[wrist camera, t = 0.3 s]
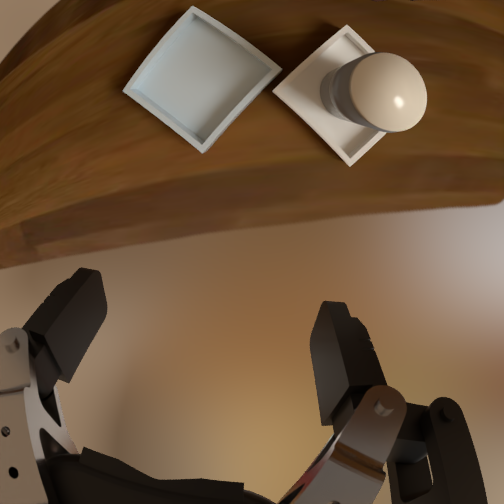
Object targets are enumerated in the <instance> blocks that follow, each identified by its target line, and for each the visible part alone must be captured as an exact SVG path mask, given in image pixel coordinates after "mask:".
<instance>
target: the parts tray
mask: <svg viewBox="0 0 504 504" xmlns="http://www.w3.org/2000/svg"><path fill="white" fill-rule="evenodd" d="M373 52H375V51H374V50H373V49H372V48H371V47H370V46H369V45H368V44H367V43H366V42H365V41H364V40H363V39H362V38H361V37H360V36H359V35H358V34H357V33H355V32H354V31H353V30H352V29H351V28H350V27H349V26H348V25H346V26H344V27H343V28H342V29H341V30H339V31H338V32H337V33H336V34H335V35H333V36H332V37H331V38H330V39H329V40H327V41H326V42H325V43H324V44H323V45H322V46H320V47H319V48H318V49H317V50H316V51H315V52H313V53H312V54H311V55H310V56H309V57H308V58H307V59H306V60H304V61H303V62H302V63H301V64H300V65H299V66H298V67H297V68H296V69H295V70H294V71H293V72H291V73H290V74H289V75H288V76H287V77H286V78H285V79H284V80H283V81H282V82H281V83H280V84H279V85H278V86H277V87H276V88H275V89H274V90H273V91H272V92H273V93H274V94H275V95H276V96H277V97H279V98H280V99H281V100H282V101H283V102H284V103H285V104H287V105H288V106H289V107H290V108H291V109H292V110H293V111H294V112H295V113H296V114H297V115H299V116H300V117H301V118H302V119H303V120H304V121H305V122H306V123H307V124H308V125H309V126H310V127H311V128H312V129H313V130H314V131H315V132H316V133H317V134H318V135H319V136H320V137H321V138H322V139H323V140H324V141H325V142H326V143H327V144H328V145H329V146H330V147H331V148H332V149H333V150H334V151H335V152H336V153H337V154H338V155H339V157H340V158H341V159H342V160H343V161H344V162H345V163H346V164H347V165H348V166H349V167H350V166H351V165H353V164H354V163H355V162H356V161H357V160H358V159H359V158H360V157H361V156H362V155H363V154H364V153H365V152H367V151H368V150H369V149H370V148H371V147H372V146H373V145H374V144H375V143H376V142H377V141H378V140H379V139H381V138H382V137H383V136H384V135H385V134H386V133H387V132H381V131H378V130H375V129H372V128H369V127H365V126H362V125H359V124H355V123H352V122H348V121H345V120H341V119H339V118H337V117H335V116H333V115H332V114H331V113H329V112H328V111H327V109H326V108H325V107H324V105H323V103H322V101H321V97H320V85H321V82H322V80H323V78H324V77H325V76H326V75H327V74H328V73H329V72H330V71H332V70H334V69H336V68H338V67H340V66H342V65H344V64H346V63H348V62H350V61H352V60H354V59H357V58H359V57H361V56H363V55H365V54H368V53H373Z"/></svg>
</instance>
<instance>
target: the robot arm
mask: <svg viewBox="0 0 504 504" xmlns="http://www.w3.org/2000/svg"><path fill="white" fill-rule="evenodd" d="M106 314H107V301H106V296H105V292H104V288H103V282H102V277H101V273H100V272H99V271H97V270H92V269H87V268H79V269H78V270H77V271H76V272H75V273H74V274H73V276H72V277H71V278H70V279H67V280H65V281H63V282H62V283H60V284H58V285H57V286H56V288H55V289H54V290H53V291H52V292H51V293H50V296H48V297H47V298H46V299H45V300H44V303H42V304H41V305H40V306H39V307H38V308H37V310H36V311H35V312H34V313H33V315H32V316H31V317H30V318H29V320H28V321H27V322H26V323H25V325H24V326H23V328H17V327H16V328H10V329H7V330H5V331H4V332H2V333H1V334H0V504H276V503H274V502H272V501H271V500H269V499H267V498H265V497H263V496H261V495H259V494H256V493H254V492H251V491H247V490H244V483H239V482H227V481H217V480H209V479H202V478H200V479H181V480H158V479H154V478H152V477H150V476H148V475H146V474H144V473H142V472H140V471H138V470H136V469H135V468H133V467H131V466H129V465H127V464H126V463H124V462H122V461H120V460H119V459H116V458H113V457H110V456H107V455H104V454H101V453H99V452H96V451H93V450H91V449H88V448H86V447H84V448H83V450H82V453H81V454H79V453H78V451H77V448H76V446H75V444H74V443H73V441H72V440H71V438H70V436H69V434H68V431H67V428H66V424H65V420H64V416H63V412H62V408H61V404H60V399H59V395H58V390H57V387H56V385H55V384H56V382H57V380H58V379H59V380H62V381H65V382H67V383H70V381H71V379H72V377H73V375H74V373H75V371H76V369H77V367H78V366H79V364H80V362H81V360H82V358H83V356H84V354H85V353H86V351H87V349H88V347H89V345H90V343H91V342H92V340H93V339H94V337H95V335H96V333H97V332H98V330H99V328H100V327H101V325H102V323H103V321H104V320H105V317H106ZM310 351H311V358H312V364H313V370H314V376H315V383H316V389H317V396H318V403H319V410H320V417H321V423H322V426H328V425H333V430H334V434H333V435H332V436H331V437H330V439H329V440H328V442H327V443H326V445H325V446H324V447H323V449H322V450H321V452H320V453H319V454H318V456H317V457H316V458H315V460H314V461H313V462H312V464H311V465H310V466H309V468H308V469H307V470H306V471H305V473H304V474H303V475H302V476H301V477H300V479H299V480H298V481H297V482H296V483H295V484H294V485H293V486H292V487H291V488H290V489H289V491H288V492H287V493H286V494H285V495H284V496H283V497H282V498H281V499H280V500H279V502H278V503H277V504H372V503H373V501H374V500H375V498H376V496H377V494H378V492H379V491H380V489H381V486H382V485H383V483H384V480H385V477H386V473H385V472H384V471H383V466H384V464H385V462H387V468H388V475H389V483H390V491H391V500H392V504H488V503H487V497H486V492H485V487H484V482H483V478H482V474H481V470H480V466H479V462H478V458H477V455H476V452H475V448H474V445H473V441H472V438H471V435H470V432H469V429H468V426H467V423H466V420H465V418H464V415H463V412H462V410H461V408H460V406H459V405H458V404H457V403H456V402H455V401H454V400H452V399H450V398H447V397H440V398H437V399H435V400H434V401H433V402H432V403H431V404H430V406H423V405H416V404H411V403H407V402H406V401H405V399H404V397H403V396H402V395H401V394H400V392H398V391H397V390H396V389H394V388H392V387H390V386H388V385H387V383H386V380H385V377H384V374H383V372H382V369H381V366H380V363H379V360H378V358H377V355H376V352H375V351H374V347H373V344H372V342H371V341H370V337H369V334H368V332H367V329H366V327H365V326H364V325H363V324H362V323H361V322H360V320H359V319H358V318H355V317H351V316H350V313H349V311H348V308H347V305H346V304H345V303H344V302H332V301H324V302H323V303H322V305H321V307H320V310H319V313H318V316H317V319H316V322H315V324H314V327H313V330H312V333H311V337H310ZM427 455H428V457H429V461H430V466H431V471H432V475H433V485H432V479H431V474H430V469H429V464H428V460H427Z"/></svg>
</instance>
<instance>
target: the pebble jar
mask: <svg viewBox="0 0 504 504" xmlns="http://www.w3.org/2000/svg"><path fill="white" fill-rule="evenodd" d="M320 97H321V101H322V103H323V105H324V107H325V108H326V109H327V111H328V112H329V113H331V114H332V115H333V116H335V117H337V118H339V119H341V120H345V121H348V122H352V123H355V124H359V125H362V126H365V127H369V128H372V129H375V130H378V131H381V132H389V133H392V132H398V131H404V130H407V129H409V128H411V127H413V126H414V125H416V124H417V123H418V122H419V120H420V119H421V118H422V116H423V114H424V112H425V109H426V104H427V93H426V88H425V84H424V82H423V79H422V77H421V76H420V74H419V73H418V71H417V70H416V69H415V67H414V66H413V65H412V64H410V63H409V62H408V61H407V60H405V59H403V58H402V57H400V56H397V55H394V54H390V53H382V52H373V53H368V54H365V55H363V56H361V57H359V58H357V59H354V60H352V61H350V62H348V63H346V64H344V65H342V66H340V67H338V68H336V69H334V70H332V71H330V72H329V73H328V74H327V75H326V76H325V77H324V78H323V80H322V82H321V85H320Z"/></svg>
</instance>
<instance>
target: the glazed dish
mask: <svg viewBox="0 0 504 504" xmlns="http://www.w3.org/2000/svg"><path fill="white" fill-rule="evenodd" d="M281 71H282V68H281V67H279V66H278V65H277V64H276V63H274V62H273V61H272V60H271V59H270V58H268V57H267V56H266V55H264V54H263V53H262V52H261V51H259V50H258V49H257V48H255V47H254V46H253V45H251V44H250V43H249V42H247V41H246V40H245V39H243V38H242V37H240V36H239V35H238V34H236V33H235V32H233V31H232V30H230V29H229V28H227V27H226V26H224V25H223V24H221V23H220V22H218V21H217V20H215V19H214V18H212V17H210V16H209V15H207V14H206V13H204V12H202V11H201V10H199V9H197V8H196V7H194V6H192V7H191V8H190V9H189V10H188V11H187V12H186V13H185V14H184V15H183V16H182V17H181V18H180V19H179V20H178V21H177V22H176V23H175V24H174V25H173V27H172V28H171V29H170V30H169V31H168V32H167V33H166V34H165V36H164V37H163V38H162V39H161V40H160V41H159V43H158V44H157V45H156V46H155V48H154V49H153V50H152V51H151V52H150V54H149V55H148V56H147V58H146V59H145V60H144V61H143V63H142V64H141V65H140V67H139V68H138V69H137V71H136V72H135V74H134V75H133V76H132V78H131V79H130V81H129V82H128V84H127V85H126V86H125V88H124V89H123V92H125V93H126V94H127V95H129V96H130V97H131V98H133V99H134V100H135V101H137V102H138V103H139V104H141V105H142V106H143V107H144V108H146V109H147V110H148V111H150V112H151V113H152V114H154V115H155V116H156V117H158V118H159V119H160V120H161V121H163V122H164V123H165V124H166V125H168V126H169V127H170V128H172V129H173V130H174V131H175V132H177V133H178V134H179V135H180V136H182V137H183V138H184V139H185V140H187V141H188V142H189V143H190V144H192V145H193V146H194V147H195V148H197V149H198V150H199V151H200V152H201V153H204V152H206V151H207V150H208V149H209V148H210V147H211V146H212V145H213V143H214V142H215V141H216V140H217V139H218V138H219V136H220V135H221V134H222V133H223V132H224V131H225V130H226V129H227V127H228V126H229V125H230V124H231V123H232V122H233V121H234V120H235V119H236V118H237V116H238V115H239V114H240V113H241V112H242V111H243V110H244V109H245V108H246V107H247V106H248V105H249V104H250V103H251V102H252V101H253V100H254V99H255V98H256V96H257V95H258V94H259V93H260V92H261V91H262V90H263V89H264V88H265V87H266V86H267V85H268V84H269V83H270V82H271V81H272V80H273V79H275V78H276V77H277V76H278V75H279V74H280V73H281Z"/></svg>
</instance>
